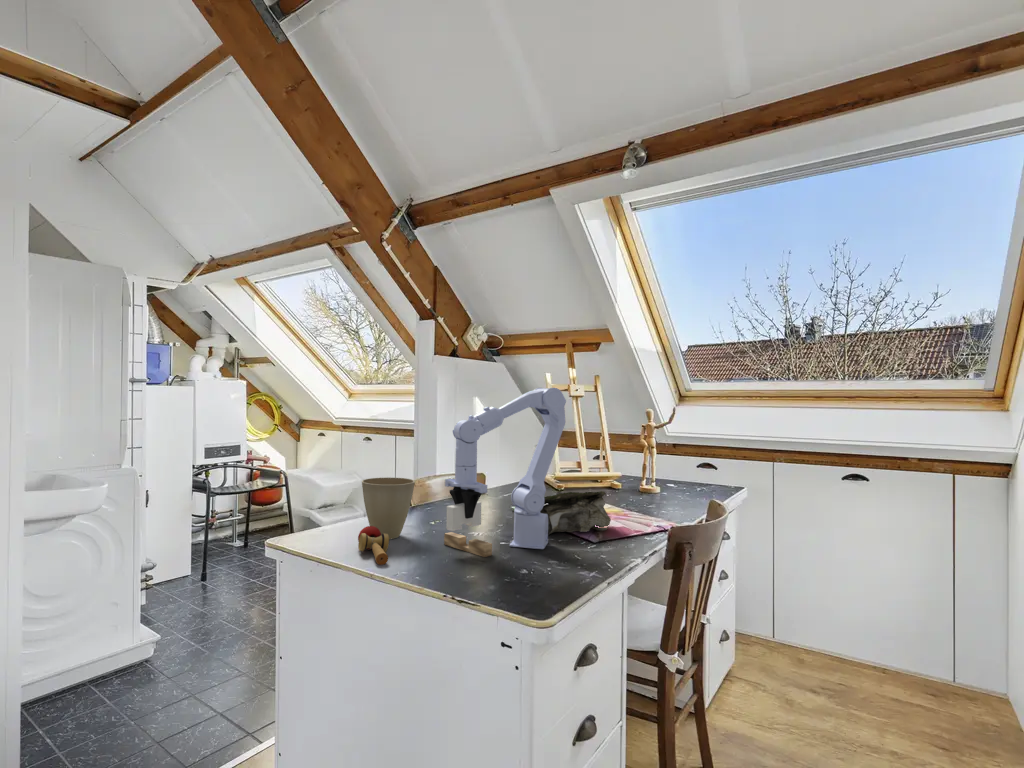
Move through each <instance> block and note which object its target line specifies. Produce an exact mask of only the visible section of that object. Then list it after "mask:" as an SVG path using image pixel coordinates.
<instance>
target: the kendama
mask: <svg viewBox="0 0 1024 768" xmlns="http://www.w3.org/2000/svg"><path fill="white" fill-rule="evenodd" d="M357 541H358V544H357V546H358V551H359V552H364V551H366V550H367V551H368V550H372V553H373V556H374V559H375V562H376V564H377V565H379V566H383V565H386V564H387V562H388V560H389V555H388V554H387V553H386V552H387V551H388V548H389V545H390V544H389V543H390V542H389V541H390V539H389V536H388V534H382V535H381V532H380V530H379V529H378V528H376V527H374V526H370V525H367V526H364V527H363V528H362V529H361V530H360V531H359V533H358V537H357Z"/></svg>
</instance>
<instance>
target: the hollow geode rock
mask: <svg viewBox="0 0 1024 768" xmlns="http://www.w3.org/2000/svg"><path fill="white" fill-rule="evenodd" d="M604 496H607V492H605V491H602V490H599V491H594V492H593V491H585V492H578V491H577V492H573V491H569V492H560V493H556V494H554V495H547V496H544V501H545V502H544V506H543V508H542V510H541V511H540V513H543V514H547V515H548V536H550V535H551V534H553V533H558V532H559V533H560V532H562V533H563V532H567V533H574V532H581V533H582V532H583V533H584V532H585V533H586V532H587V531H588V532H589V531H591V530H590V529H594V530H596V531H600V532H601V531H607V530H608V528H609V526H610V524H611V521H612V520H611V517H610V515H609V514H608V512H607V511H606V509H605V505H606V502H605V500H604V498H603V497H604ZM595 525H596V526H599V527H604V526H608V525H609V526H608V527H607V528H598V527H595Z"/></svg>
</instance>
